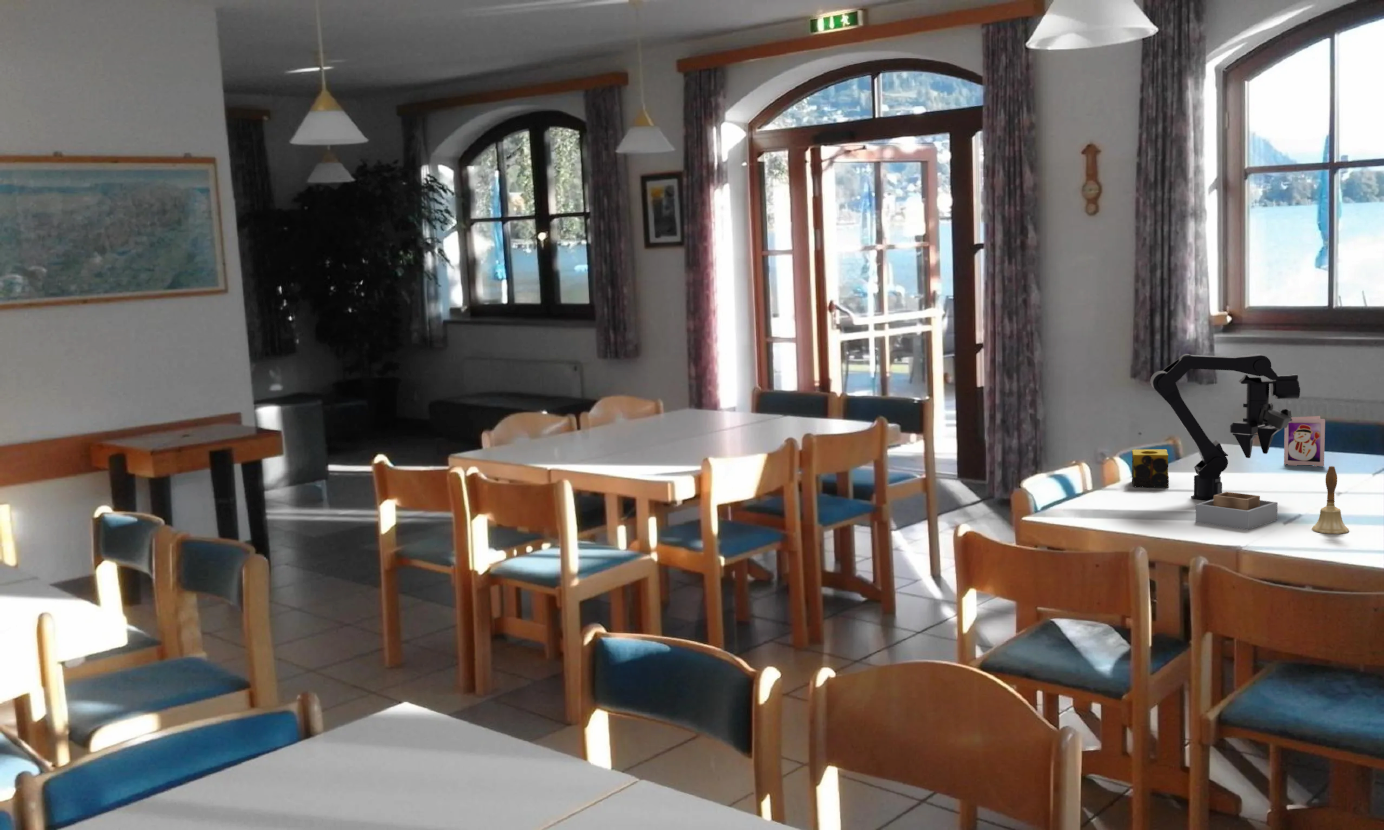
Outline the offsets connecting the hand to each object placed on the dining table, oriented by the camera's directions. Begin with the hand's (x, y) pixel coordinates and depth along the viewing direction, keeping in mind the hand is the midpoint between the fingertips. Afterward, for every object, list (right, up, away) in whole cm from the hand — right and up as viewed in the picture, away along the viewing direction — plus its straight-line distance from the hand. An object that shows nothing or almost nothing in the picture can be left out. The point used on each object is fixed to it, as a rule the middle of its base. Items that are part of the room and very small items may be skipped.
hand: (1256, 455), depth 359 cm
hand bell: (+1, -17, -39) cm, 43 cm away
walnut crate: (-16, -15, -25) cm, 33 cm away
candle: (-20, -10, +27) cm, 35 cm away
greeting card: (+37, -4, +50) cm, 62 cm away
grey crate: (-16, -16, -25) cm, 34 cm away
